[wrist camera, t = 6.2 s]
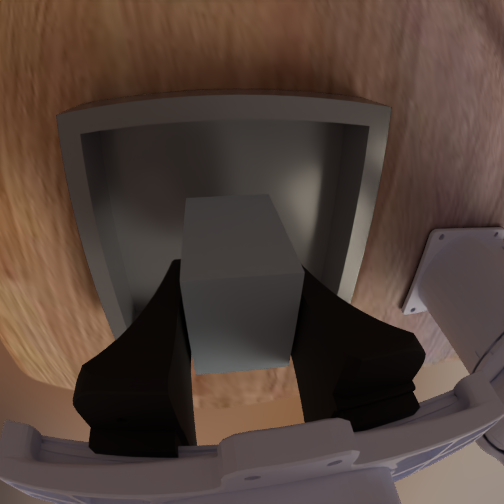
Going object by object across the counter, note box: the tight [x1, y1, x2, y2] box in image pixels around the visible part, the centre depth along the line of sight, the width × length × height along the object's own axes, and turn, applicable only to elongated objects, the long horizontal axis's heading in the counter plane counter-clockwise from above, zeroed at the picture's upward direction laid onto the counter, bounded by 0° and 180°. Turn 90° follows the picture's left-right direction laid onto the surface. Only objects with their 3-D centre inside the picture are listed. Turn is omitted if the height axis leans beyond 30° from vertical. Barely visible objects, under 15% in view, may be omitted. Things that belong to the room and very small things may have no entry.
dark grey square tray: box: [56, 89, 392, 340], centre depth 16 cm, size 14×14×3 cm
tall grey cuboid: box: [180, 194, 305, 375], centre depth 12 cm, size 4×4×6 cm
